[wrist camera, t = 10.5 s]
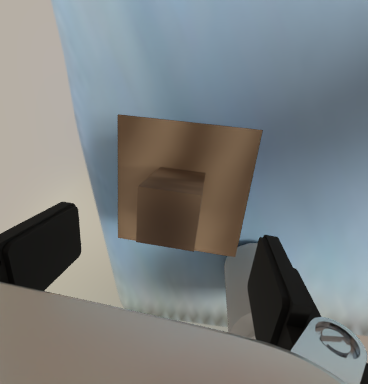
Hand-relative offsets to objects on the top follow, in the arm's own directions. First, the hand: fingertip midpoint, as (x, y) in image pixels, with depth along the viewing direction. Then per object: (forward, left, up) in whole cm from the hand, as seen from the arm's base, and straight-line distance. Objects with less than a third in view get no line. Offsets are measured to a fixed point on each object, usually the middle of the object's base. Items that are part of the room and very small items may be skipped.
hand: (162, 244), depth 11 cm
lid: (0, 0, -10) cm, 10 cm away
